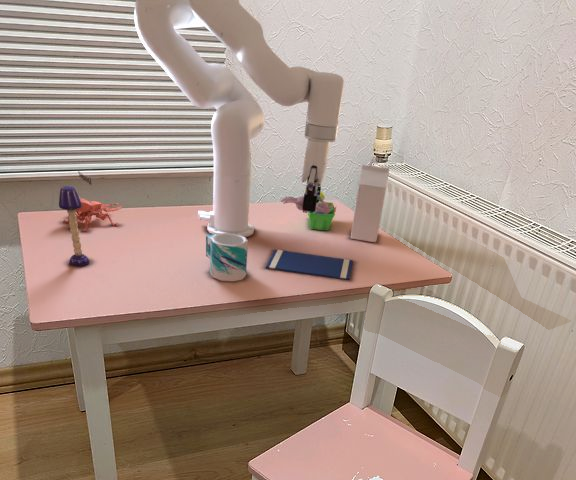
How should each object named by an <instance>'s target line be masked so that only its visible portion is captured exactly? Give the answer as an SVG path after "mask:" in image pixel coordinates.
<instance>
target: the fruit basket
mask: <svg viewBox="0 0 576 480" xmlns="http://www.w3.org/2000/svg"><path fill="white" fill-rule="evenodd" d="M305 190H306V188H305V189H304V191H305ZM320 196H321V198H322V200H323V201H324V199H325V194H324V193H323V192H322V191H320ZM319 201H320V200H319ZM325 202H326V203H329V204H330V205H331V204H332V206H334V207H335V204H334V203H333V202H329V201H325ZM316 204H317V203H316ZM330 205H329V206H330ZM334 213H335V212H334V208H332V209H331V211H330V212H329V213H327V214H326V213H323V212H320V211H319V210H318V211H315V212H307V216H308V222H309V229H310V230H317V231H329V230H330V226H331V224H332V222H333V219H334V218H335V216H336V213H335V214H334Z"/></svg>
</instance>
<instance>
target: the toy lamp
mask: <svg viewBox="0 0 576 480" xmlns="http://www.w3.org/2000/svg"><path fill="white" fill-rule="evenodd" d="M80 198H81V197H80V195H79V194H78V191H77V188H76V187H74V186H72V185H65V186H61V187H60V189H59V196H58V207H59V209H61V210H66V212H67V219H68V221H69V223H68V224H69V230H70V231H69V232H70V235H71V242H72V247H73V253H74V254H72V255H71V256H70V258H69V265H71V266H74V267H83V266H87V265H88V264H90V259H89V257H88V256H87V255H86V254H84V253H83V250H82V243H81V237H80V235H79V234H80V230H79V225H78V221H76V220H77V217H76V215H75V213H76V210H75V209H78V208H81V207H82V203H81V201H80ZM76 214H77V213H76ZM70 228H71V229H70Z"/></svg>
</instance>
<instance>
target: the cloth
mask: <svg viewBox="0 0 576 480" xmlns="http://www.w3.org/2000/svg"><path fill="white" fill-rule="evenodd" d="M353 262H354V260H353V259H347V258H339V257H333V256H324V255H318V254H312V253H303V252H296V251H289V250H282V249H277V248H276V249H273V252H272V253H271V256H270V258H269V260H268V262H267V264H266V265H265V269H268V270H275V271H282V272H288V273H295V274H302V275H303V274H304V275H310V276H317V277H324V278H331V279H339V280H345V281H350V277H351V273H352V267H353Z"/></svg>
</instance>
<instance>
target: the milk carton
mask: <svg viewBox="0 0 576 480" xmlns="http://www.w3.org/2000/svg"><path fill="white" fill-rule="evenodd" d="M389 173H390V168H388V167H382V166H374V165H367V164H362V165H361V170H360V176H359V180H358V186H357V193H356V199H355V206H354V213H353V219H352V226H351V233H350V239H352V240H357V241H364V242H370V243H371V242H372V243H377V241H378V237H379V236H378V235H379V231H380V224H381V218H382V214H383V207H384V201H385V196H386V192H387V191H386V190H387V187H388V186H387V185H388V178H389Z"/></svg>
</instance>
